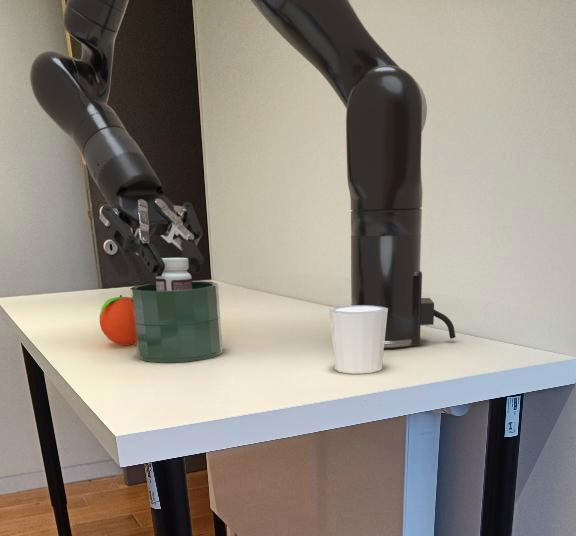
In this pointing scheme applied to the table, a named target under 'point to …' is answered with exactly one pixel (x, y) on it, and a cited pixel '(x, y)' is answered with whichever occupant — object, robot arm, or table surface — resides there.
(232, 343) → the table surface
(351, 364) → the shot glass
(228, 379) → the table surface
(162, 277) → the pill bottle
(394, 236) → the robot arm
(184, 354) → the pot
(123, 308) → the clementine
